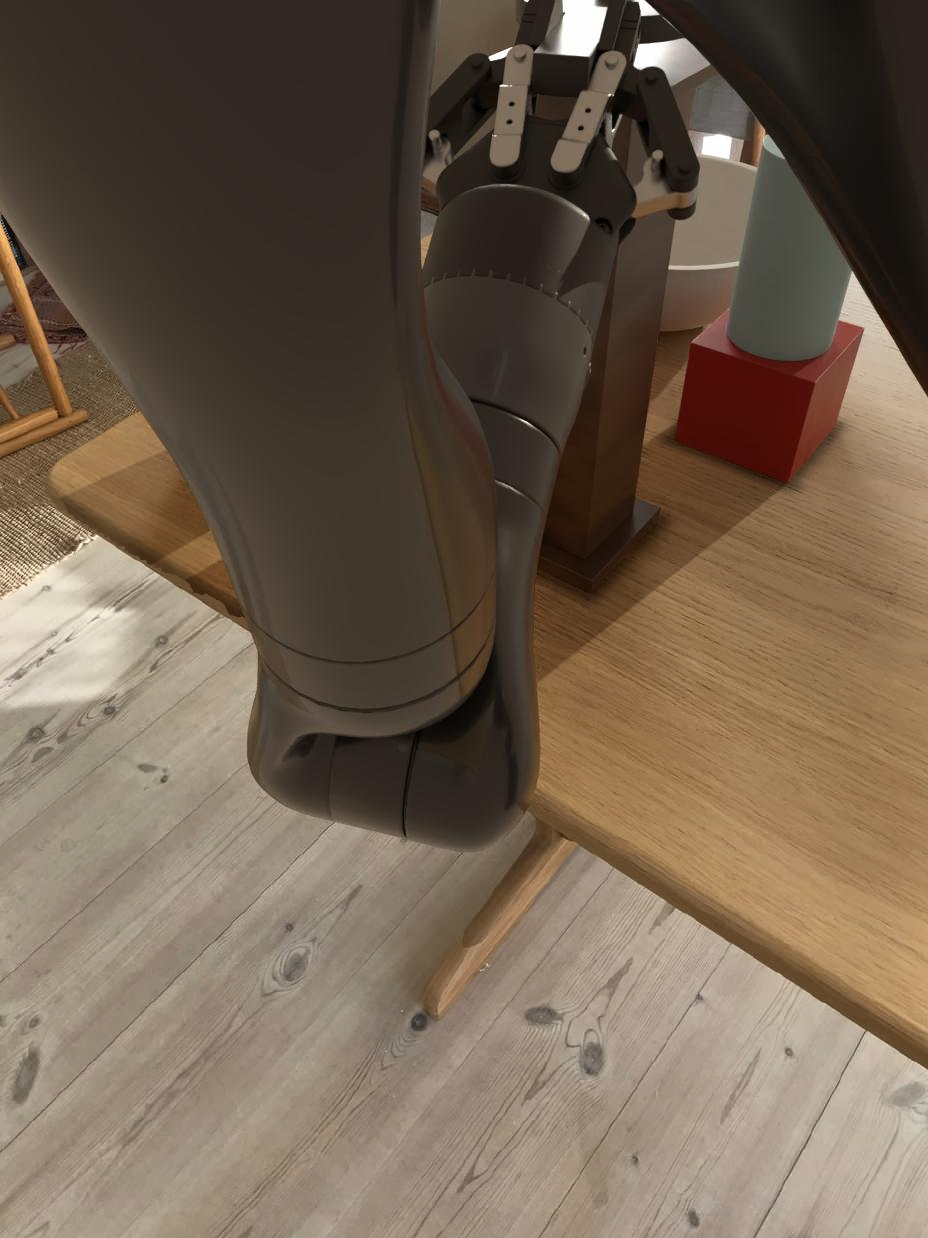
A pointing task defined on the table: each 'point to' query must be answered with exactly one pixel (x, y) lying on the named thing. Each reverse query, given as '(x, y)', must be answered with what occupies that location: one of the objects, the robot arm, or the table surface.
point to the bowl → (708, 246)
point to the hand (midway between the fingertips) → (587, 2)
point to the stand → (617, 363)
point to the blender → (773, 338)
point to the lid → (582, 45)
